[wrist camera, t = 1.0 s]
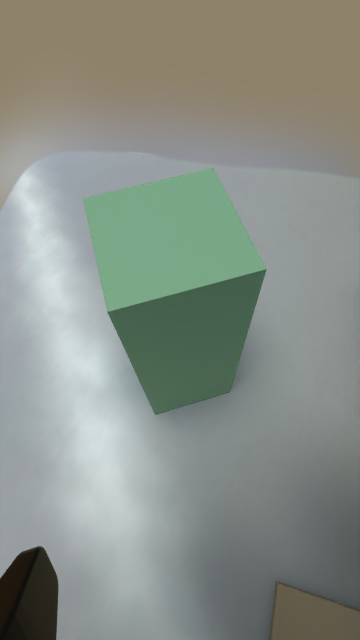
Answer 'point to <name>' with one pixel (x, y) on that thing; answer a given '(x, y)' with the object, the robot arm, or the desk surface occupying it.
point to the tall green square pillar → (177, 283)
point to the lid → (311, 617)
